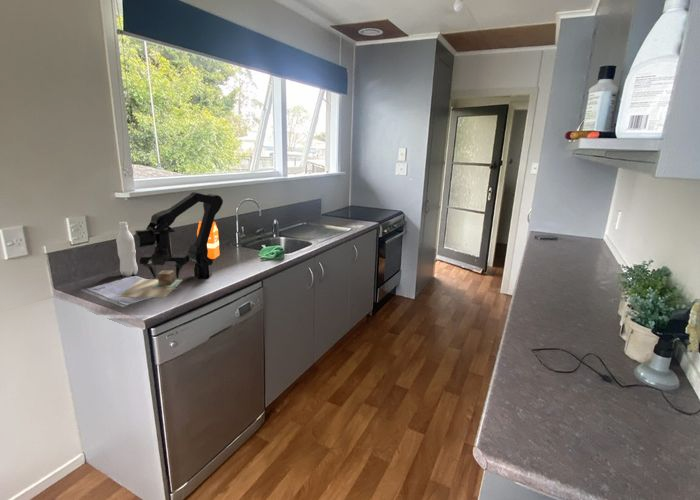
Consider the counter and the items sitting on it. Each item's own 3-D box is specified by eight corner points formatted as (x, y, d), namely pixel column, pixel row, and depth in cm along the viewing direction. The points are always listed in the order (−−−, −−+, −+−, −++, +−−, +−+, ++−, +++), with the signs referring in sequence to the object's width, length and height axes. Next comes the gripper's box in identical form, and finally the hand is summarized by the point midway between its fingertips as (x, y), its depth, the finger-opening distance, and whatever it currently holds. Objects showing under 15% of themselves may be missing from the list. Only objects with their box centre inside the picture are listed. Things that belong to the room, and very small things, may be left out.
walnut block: (175, 281, 164) (174, 270, 163) (170, 285, 160) (169, 274, 158) (163, 281, 164) (162, 270, 163) (158, 285, 159) (157, 274, 158)
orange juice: (214, 259, 202) (212, 223, 197) (198, 258, 202) (195, 222, 197) (219, 255, 210) (217, 220, 204) (204, 254, 210) (201, 219, 204)
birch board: (183, 281, 167) (182, 279, 167) (166, 299, 148) (165, 296, 148) (141, 281, 166) (140, 279, 165) (118, 299, 146) (118, 296, 146)
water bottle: (125, 272, 176) (118, 220, 170) (141, 272, 177) (135, 220, 171) (117, 277, 170) (110, 223, 163) (134, 277, 170) (127, 224, 164)
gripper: (130, 248, 148) (135, 284, 153) (179, 248, 150) (182, 284, 154) (143, 241, 159) (147, 275, 163) (188, 241, 161) (191, 275, 165)
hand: (166, 278), depth 161 cm, fingers open, 9 cm apart
